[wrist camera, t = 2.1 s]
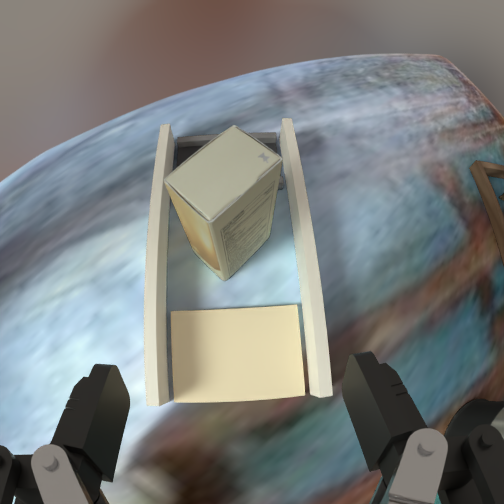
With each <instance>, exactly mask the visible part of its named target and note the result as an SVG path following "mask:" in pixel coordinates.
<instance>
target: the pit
mask: <svg viewBox="0 0 504 504" xmlns="http://www.w3.org/2000/svg"><path fill="white" fill-rule="evenodd" d="M248 134H250V135H251V136H253V137H254V138H256V139H257V140H259V141H260V142H261V143H263V144H264V145H266V146H267V147H268V148H270V149H271V150H273V151H274V152H275V153H277V147H276V139H277V137H276V133H248ZM218 135H219V134H214V135H199V136H187V137H178V139H177V144H178V157H177V167H178V166H180V165H181V164H182V163H183V162H184V161H186V160H187V159H188V158H189V157H190V156H192V155H193V154H194V153H195V152H197V151H198V150H199V149H200V148H202V147H203V146H204V145H206V144H207V143H208V142H210V141H211V140H212V139H214V138H215V137H217V136H218ZM277 154H278V153H277ZM283 183H284V182H283V176H281V174H280V179H279V185H278V189H282V188H283Z"/></svg>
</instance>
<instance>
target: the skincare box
mask: <svg viewBox="0 0 504 504" xmlns="http://www.w3.org/2000/svg"><path fill="white" fill-rule="evenodd" d="M282 161H283V158H282V157H281V156H280V155H278V154H277V153H275V152H274V151H273V150H271V149H270V148H268V147H267V146H266V145H264V144H263V143H261V142H260V141H259V140H257V139H256V138H254V137H253V136H251V135H250V134H248V133H247V132H245V131H243V130H242V129H240V128H238V127H237V126H235V125H234V126H231V127H230V128H229V129H227V130H225V131H224V132H222V133H221V134H219V135H218V136H217V137H215V138H214V139H212V140H211V141H210V142H208V143H207V144H206V145H204V146H203V147H202V148H200V149H199V150H198V151H197V152H195V153H194V154H193V155H192V156H190V157H189V158H188V159H187V160H186V161H184V162H183V163H182V164H181V165H180V166H178V167H177V168H176V169H175V170H174V171H173V172H172V173H170V174H169V175H168V176H167V177H166V178H165V179H164V183H165V185H166V188H167V190H168V192H169V195H170V197H171V200H172V202H173V205H174V207H175V210H176V212H177V214H178V217H179V219H180V221H181V224H182V226H183V228H184V231H185V233H186V235H187V238H188V240H189V242H190V244H191V247H192V249H193V251H194V253H195V254H196V255H197V256H198V257H199V258H200V259H201V260H202V261H203V262H204V263H205V264H206V265H207V266H208V267H209V268H210V269H211V270H212V271H213V272H214V273H215V274H216V275H217V276H218V277H219V278H221V279H222V280H223V281H226V280H228V279H229V278H230V277H231V276H232V275H233V274H234V273H235V272H236V271H237V270H238V269H239V268H240V267H241V266H242V265H243V264H244V263H245V262H246V261H247V260H248V259H249V258H250V257H251V256H252V255H253V254H254V253H255V252H256V251H257V250H258V249H259V248H260V247H261V246H262V245H263V244H264V243H265V241H266V240H267V239H268V238H269V237H270V231H271V225H272V219H273V214H274V208H275V202H276V196H277V191H278V185H279V179H280V173H281V167H282Z"/></svg>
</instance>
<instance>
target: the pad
mask: <svg viewBox="0 0 504 504" xmlns="http://www.w3.org/2000/svg"><path fill="white" fill-rule="evenodd" d="M171 346H172V372H173V391H174V402H232V401H251V400H264V399H276V398H286V397H295V396H303V395H305V385H304V373H303V361H302V350H301V339H300V328H299V318H298V308H297V305H285V306H271V307H256V308H238V309H218V310H192V311H171Z"/></svg>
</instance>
